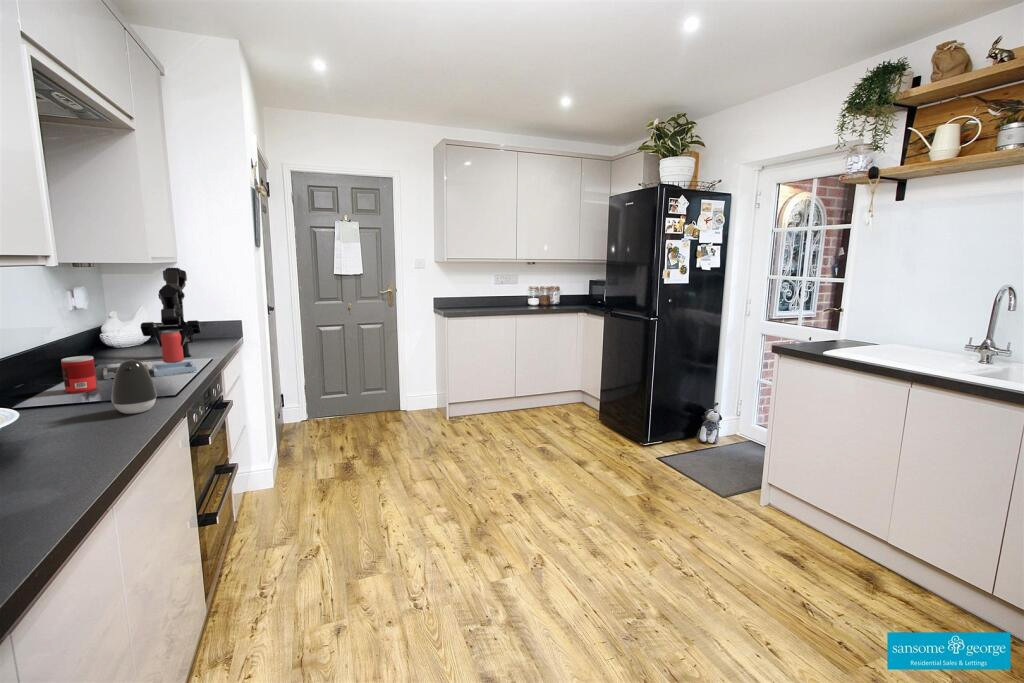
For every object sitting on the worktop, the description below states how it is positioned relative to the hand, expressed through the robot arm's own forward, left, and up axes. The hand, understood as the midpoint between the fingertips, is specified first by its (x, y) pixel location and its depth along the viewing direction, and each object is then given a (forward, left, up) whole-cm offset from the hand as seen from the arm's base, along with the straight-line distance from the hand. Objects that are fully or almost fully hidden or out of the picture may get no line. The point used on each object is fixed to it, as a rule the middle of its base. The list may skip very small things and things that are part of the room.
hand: (171, 345), depth 183 cm
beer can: (-1, 0, -7) cm, 7 cm away
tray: (-1, 0, -10) cm, 11 cm away
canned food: (+14, -26, -11) cm, 32 cm away
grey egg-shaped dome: (+52, -13, -11) cm, 55 cm away
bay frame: (-6, -14, -10) cm, 19 cm away
